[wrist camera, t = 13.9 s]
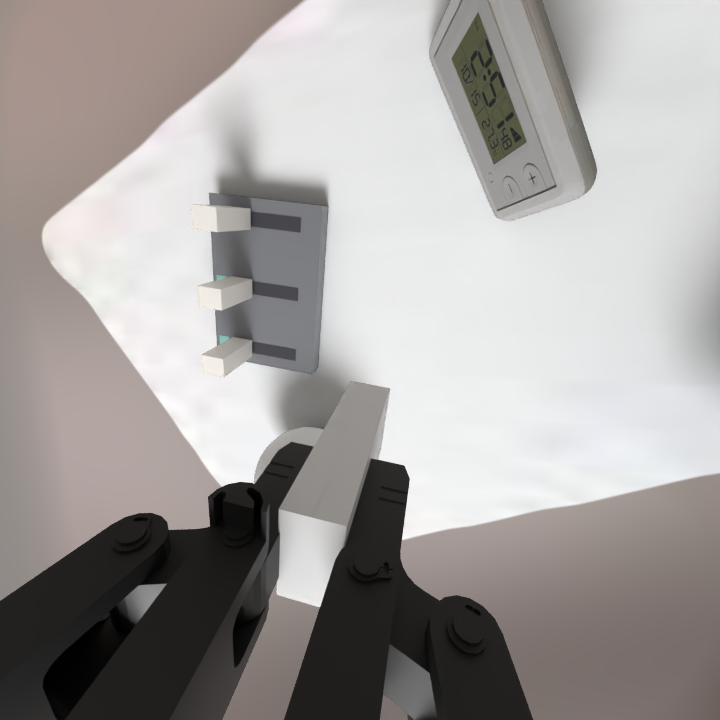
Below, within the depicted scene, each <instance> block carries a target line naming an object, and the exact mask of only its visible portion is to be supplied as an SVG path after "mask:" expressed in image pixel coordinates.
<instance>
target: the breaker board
mask: <svg viewBox="0 0 720 720" xmlns="http://www.w3.org/2000/svg"><path fill="white" fill-rule="evenodd" d="M209 200H210V205H220V206H233V207H242V208H250V209H251V230H241V231H227V232H212V231H211V238H212V257H213V276H214V281H216V280H219V279H223V278H227V277H230V276H235V277H241V278H248V279H252V298H250V299H248V300H246V301H243V302H241V303H239V304H236V305H234V306H232V307H229V308H227V309H224V310H222V311H221V310H215V315H216V334H217V346H218V345H220V344H221V343H223V342H225V341H227V340H228V339H230V338H232V337H236V338H242V339H247V340H252V357H251V358H249V359H248V360H247V361H245V362H250V363H256V364H261V365H266V366H271V367H277V368H282V369H287V370H292V371H297V372H303V373H308V374H313V373H314V372H315V371H316V369H317V368H318V359H319V343H320V328H321V312H322V297H323V281H324V266H325V251H326V235H327V220H328V206H321V205H312V204H304V203H295V202H286V201H278V200H269V199H260V198H252V197H243V196H234V195H225V194H216V193H209Z"/></svg>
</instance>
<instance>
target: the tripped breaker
mask: <svg viewBox="0 0 720 720" xmlns="http://www.w3.org/2000/svg"><path fill="white" fill-rule="evenodd" d="M197 288H198V303H199V307H203V308H209V309H215V310H221V311H222V310H224V309H227V308H229V307H232V306H234V305H236V304H239V303H241V302H243V301H246V300H248V299H250V298H252V279H248V278H241V277H235V276H230V277H227V278H223V279H219V280H216V281H212V282H209V283H205V284H202V285H198V286H197Z"/></svg>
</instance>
